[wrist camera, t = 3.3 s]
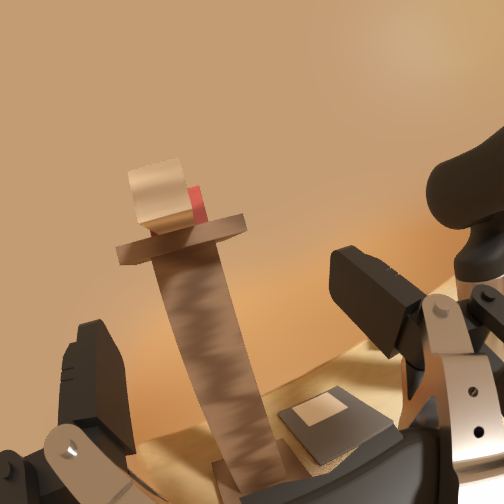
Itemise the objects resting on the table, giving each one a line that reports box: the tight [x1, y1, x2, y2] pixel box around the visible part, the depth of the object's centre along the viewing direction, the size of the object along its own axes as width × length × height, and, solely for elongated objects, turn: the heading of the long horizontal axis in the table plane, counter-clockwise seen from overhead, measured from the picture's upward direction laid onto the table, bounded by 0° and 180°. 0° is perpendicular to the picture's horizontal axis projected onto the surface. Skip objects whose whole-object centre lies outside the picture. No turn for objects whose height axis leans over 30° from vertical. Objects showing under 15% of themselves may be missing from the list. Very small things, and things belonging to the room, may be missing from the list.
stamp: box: [128, 157, 208, 237], centre depth 24 cm, size 19×6×4 cm, turn 10°
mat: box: [278, 386, 393, 466], centre depth 39 cm, size 12×16×1 cm
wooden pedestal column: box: [116, 214, 312, 504], centre depth 29 cm, size 11×11×32 cm
